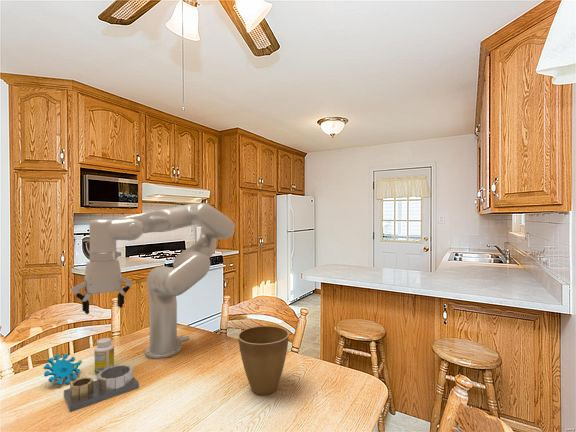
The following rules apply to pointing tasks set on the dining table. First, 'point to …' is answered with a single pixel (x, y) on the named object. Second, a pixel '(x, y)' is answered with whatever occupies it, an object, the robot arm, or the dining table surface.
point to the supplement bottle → (103, 355)
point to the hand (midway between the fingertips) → (104, 309)
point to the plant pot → (263, 356)
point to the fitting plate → (97, 395)
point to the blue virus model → (62, 369)
